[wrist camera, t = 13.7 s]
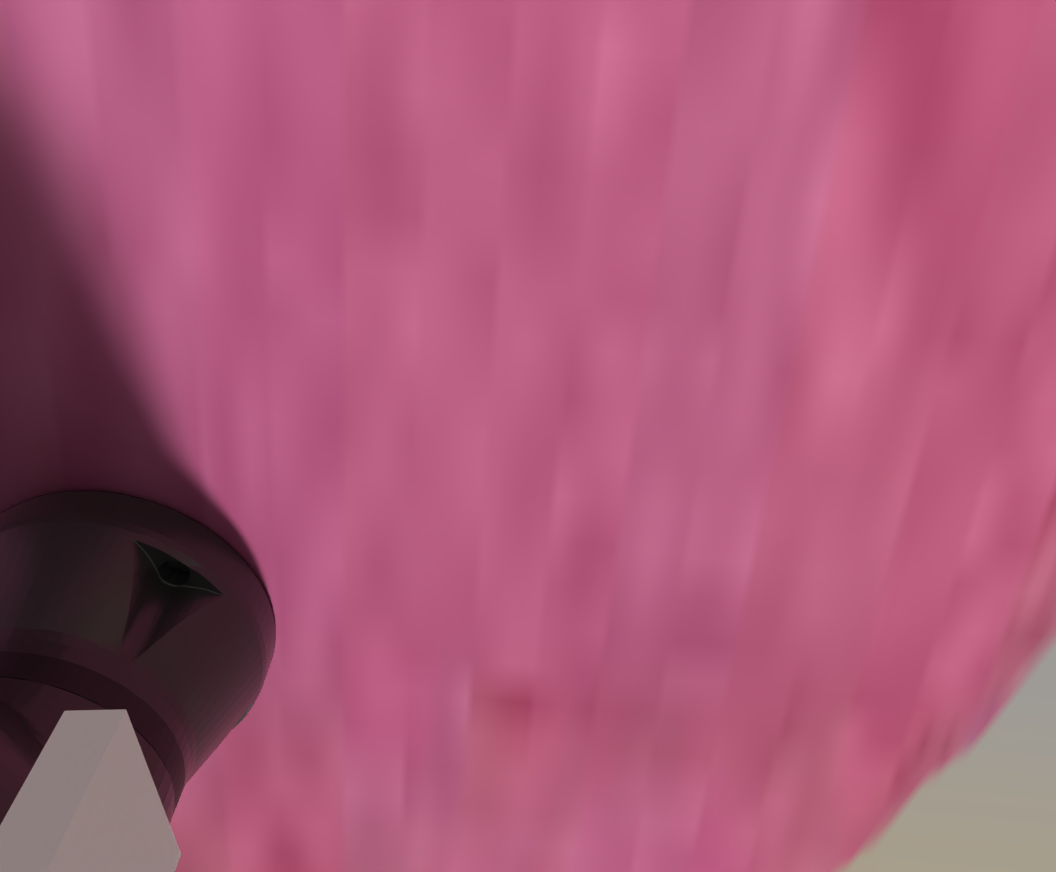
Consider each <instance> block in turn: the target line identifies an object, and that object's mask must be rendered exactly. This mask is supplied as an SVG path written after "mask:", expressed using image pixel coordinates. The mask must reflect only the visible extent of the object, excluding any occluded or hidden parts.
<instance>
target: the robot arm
mask: <svg viewBox="0 0 1056 872" xmlns="http://www.w3.org/2000/svg"><path fill="white" fill-rule="evenodd" d="M275 639H276V634H275V621H274V617H273V612H272V609H271V606H270V603H269V600H268V598H267V595H266V593H265V591H264V589H263V587H262V585H261V584H260V582H259V580H258V579H257V577H256V576H255V574H254V573H253V572H252V570H251V569H250V568H249V566H248V565H247V564H246V563H245V562H244V560H243V559H242V558H241V557H240V556H239V555H238V554H237V553H236V552H235V551H234V550H233V549H232V548H231V547H230V546H229V545H228V544H226V543H225V542H224V541H223V540H221V539H220V538H219V537H218V536H216V535H215V534H214V533H212V532H211V531H209V530H208V529H207V528H205V527H203V526H202V525H200V524H199V523H197V522H195V521H193V520H192V519H190V518H188V517H186V516H184V515H182V514H180V513H178V512H176V511H174V510H171V509H169V508H167V507H164V506H162V505H159V504H156V503H153V502H150V501H147V500H143V499H140V498H136V497H132V496H128V495H122V494H117V493H109V492H100V491H68V492H59V493H52V494H48V495H43V496H39V497H36V498H32V499H29V500H27V501H24V502H21V503H19V504H17V505H15V506H13V507H11V508H9V509H8V510H6V511H4V512H3V513H1V514H0V872H175V869H176V867H177V864H178V861H179V859H180V856H181V852H180V850H179V847H178V844H177V842H176V839H175V837H174V834H173V831H172V829H171V826H170V821H171V818H172V816H173V813H174V811H175V808H176V806H177V803H178V801H179V798H180V796H181V793H182V791H183V788H184V786H185V784H186V783H187V782H188V781H189V780H190V778H191V777H192V776H193V775H194V774H195V773H196V771H197V770H198V769H199V768H200V767H201V766H202V764H203V763H204V762H205V761H206V760H207V759H208V758H209V756H210V755H211V754H212V753H213V752H214V751H215V749H216V748H217V747H218V746H219V744H220V743H221V742H222V741H223V740H224V738H225V737H226V736H227V735H228V733H229V732H230V731H231V730H232V729H233V728H234V727H235V726H236V725H237V724H238V723H239V722H241V721H242V719H243V718H244V717H245V716H246V715H247V714H248V712H249V711H250V709H251V708H252V706H253V705H254V703H255V701H256V699H257V697H258V696H259V693H260V691H261V689H262V686H263V683H264V680H265V677H266V675H267V672H268V669H269V666H270V663H271V660H272V657H273V653H274V648H275Z"/></svg>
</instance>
